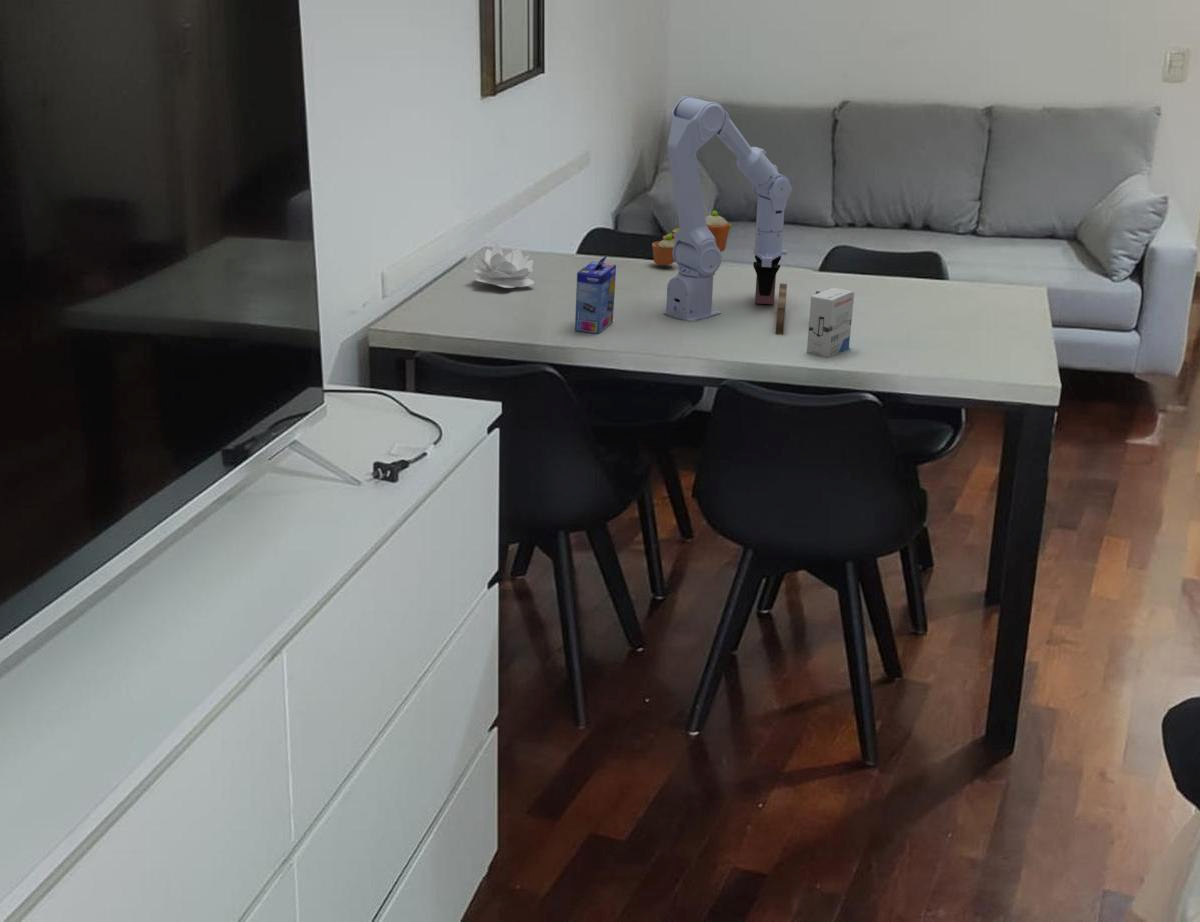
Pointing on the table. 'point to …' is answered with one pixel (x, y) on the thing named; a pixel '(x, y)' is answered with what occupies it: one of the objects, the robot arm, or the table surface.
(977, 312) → the table surface
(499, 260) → the lotus flower
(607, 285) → the ink cartridge box
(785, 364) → the table surface
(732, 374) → the table surface
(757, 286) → the mauve rectangular block
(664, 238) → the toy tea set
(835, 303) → the ink box
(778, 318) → the shelf wall
